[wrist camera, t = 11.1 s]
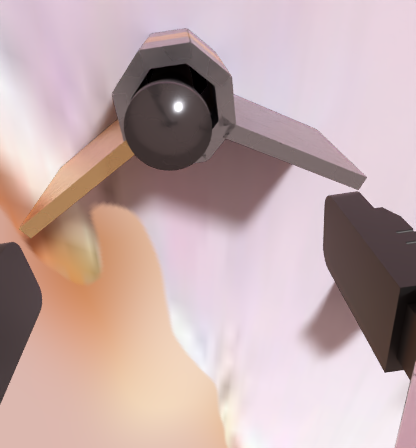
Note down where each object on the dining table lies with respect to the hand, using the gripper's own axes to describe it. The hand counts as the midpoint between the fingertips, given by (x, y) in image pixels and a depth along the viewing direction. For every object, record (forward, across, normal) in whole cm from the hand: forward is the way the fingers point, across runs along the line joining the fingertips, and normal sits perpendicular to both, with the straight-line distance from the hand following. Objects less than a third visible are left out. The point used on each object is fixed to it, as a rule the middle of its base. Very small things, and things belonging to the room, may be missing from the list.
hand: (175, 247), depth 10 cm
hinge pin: (+24, 0, 0) cm, 24 cm away
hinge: (+24, 0, +2) cm, 24 cm away
